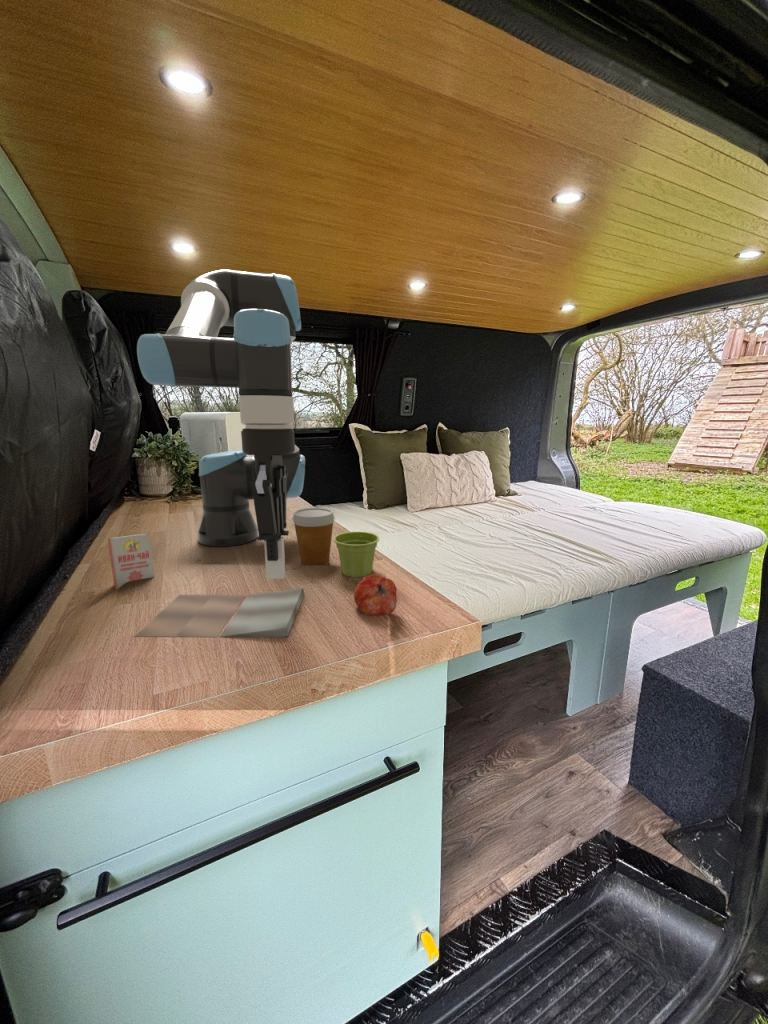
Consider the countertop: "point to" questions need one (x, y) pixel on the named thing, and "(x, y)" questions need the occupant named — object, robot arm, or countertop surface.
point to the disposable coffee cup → (314, 534)
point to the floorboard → (193, 616)
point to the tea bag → (130, 558)
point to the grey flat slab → (265, 614)
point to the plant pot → (356, 552)
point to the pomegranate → (375, 595)
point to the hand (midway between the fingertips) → (276, 576)
